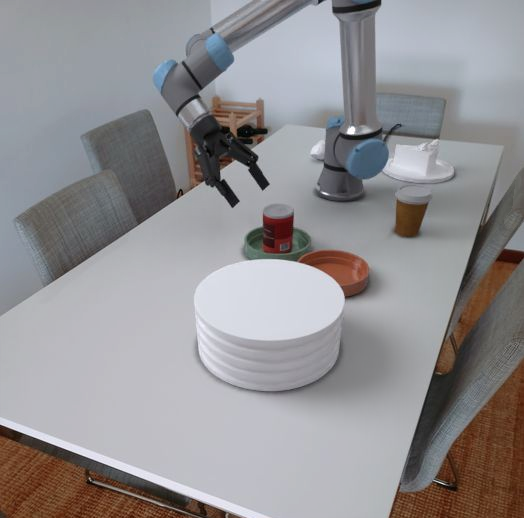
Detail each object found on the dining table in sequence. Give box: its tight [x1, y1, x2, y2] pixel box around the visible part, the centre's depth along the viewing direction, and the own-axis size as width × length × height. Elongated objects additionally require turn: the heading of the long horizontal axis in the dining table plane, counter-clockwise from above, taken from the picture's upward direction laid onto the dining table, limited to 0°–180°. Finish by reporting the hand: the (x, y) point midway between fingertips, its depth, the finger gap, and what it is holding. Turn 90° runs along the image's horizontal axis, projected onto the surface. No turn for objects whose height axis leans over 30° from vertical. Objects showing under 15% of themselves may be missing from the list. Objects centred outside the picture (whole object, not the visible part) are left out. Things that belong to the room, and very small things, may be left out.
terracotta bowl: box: [297, 249, 371, 298], centre depth 121 cm, size 17×17×3 cm
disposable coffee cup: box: [394, 183, 433, 238], centre depth 138 cm, size 10×10×12 cm
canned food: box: [262, 203, 295, 254], centre depth 129 cm, size 8×8×11 cm
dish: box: [382, 138, 455, 184], centre depth 178 cm, size 25×25×11 cm
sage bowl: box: [243, 225, 312, 262], centre depth 132 cm, size 17×17×3 cm
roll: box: [309, 139, 325, 161], centre depth 188 cm, size 6×12×6 cm, turn 159°
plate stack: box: [193, 259, 346, 392], centre depth 98 cm, size 28×28×12 cm
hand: (251, 195), depth 128 cm, fingers open, 13 cm apart
